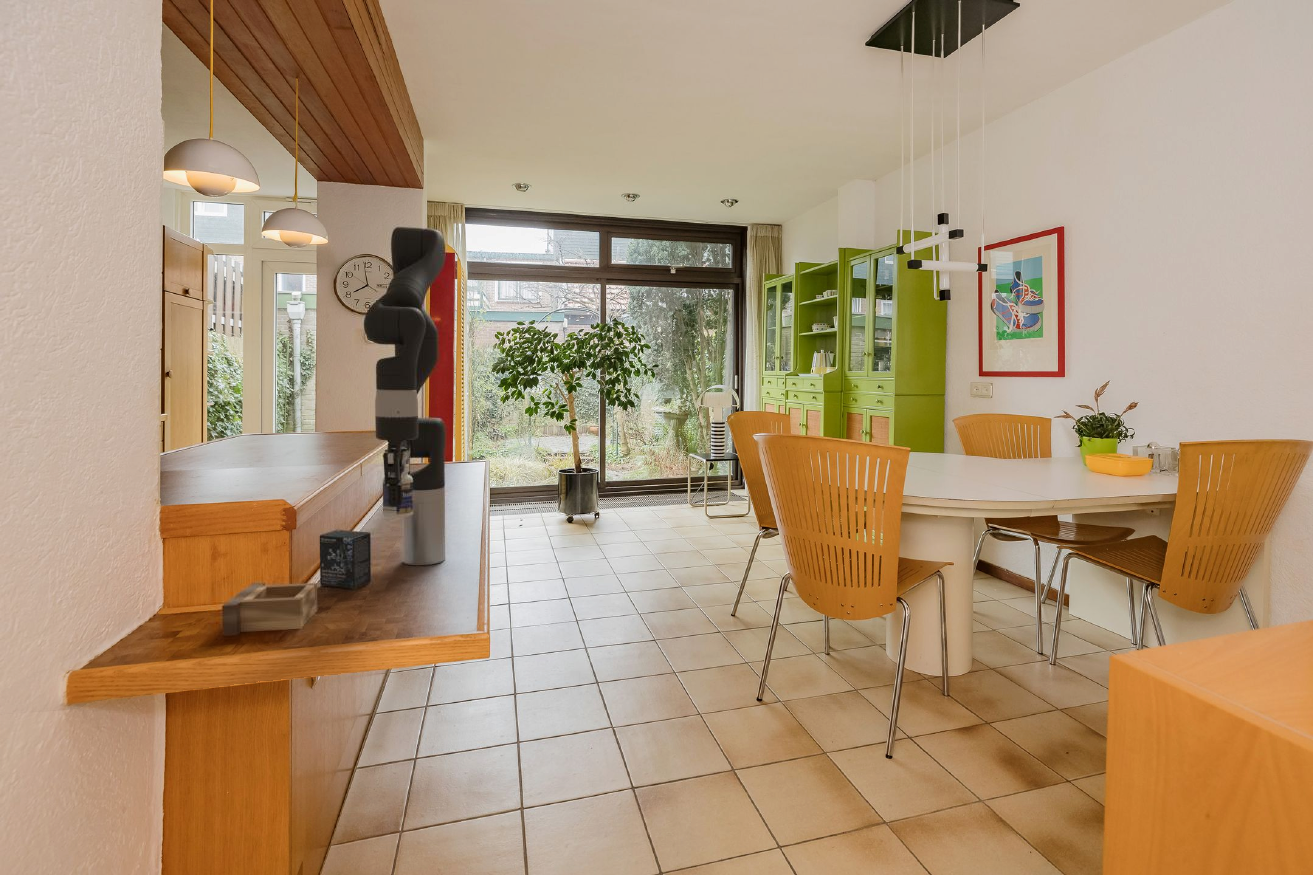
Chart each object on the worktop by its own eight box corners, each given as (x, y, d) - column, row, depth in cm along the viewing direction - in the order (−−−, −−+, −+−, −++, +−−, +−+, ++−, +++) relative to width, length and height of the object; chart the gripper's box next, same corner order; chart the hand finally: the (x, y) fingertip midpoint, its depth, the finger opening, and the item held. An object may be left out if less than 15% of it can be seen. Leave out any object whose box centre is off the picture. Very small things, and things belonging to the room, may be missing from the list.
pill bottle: (402, 519, 120) (402, 467, 119) (377, 517, 121) (376, 465, 120) (419, 513, 125) (418, 463, 124) (394, 511, 126) (393, 462, 125)
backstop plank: (253, 610, 116) (252, 583, 115) (265, 609, 116) (264, 582, 116) (223, 635, 104) (222, 605, 103) (236, 635, 104) (235, 605, 104)
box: (319, 586, 130) (318, 534, 129) (339, 578, 135) (338, 528, 134) (353, 590, 128) (352, 537, 127) (372, 581, 134) (371, 531, 133)
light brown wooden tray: (262, 612, 114) (261, 585, 114) (317, 610, 116) (316, 583, 116) (240, 631, 106) (239, 602, 105) (300, 628, 108) (300, 599, 107)
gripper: (411, 416, 115) (412, 509, 117) (423, 412, 129) (424, 495, 131) (366, 416, 114) (368, 510, 115) (383, 411, 128) (385, 495, 129)
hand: (398, 502), depth 123 cm, fingers closed on pill bottle, 5 cm apart
